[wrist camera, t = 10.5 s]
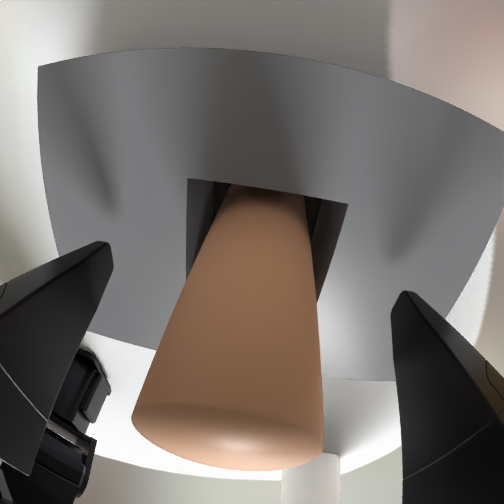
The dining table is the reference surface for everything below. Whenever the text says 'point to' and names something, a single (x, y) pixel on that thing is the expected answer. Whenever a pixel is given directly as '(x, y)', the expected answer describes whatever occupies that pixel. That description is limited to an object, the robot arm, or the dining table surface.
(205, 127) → the socket block
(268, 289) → the peg
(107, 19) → the dining table surface
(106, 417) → the dining table surface
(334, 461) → the cylindrical container
